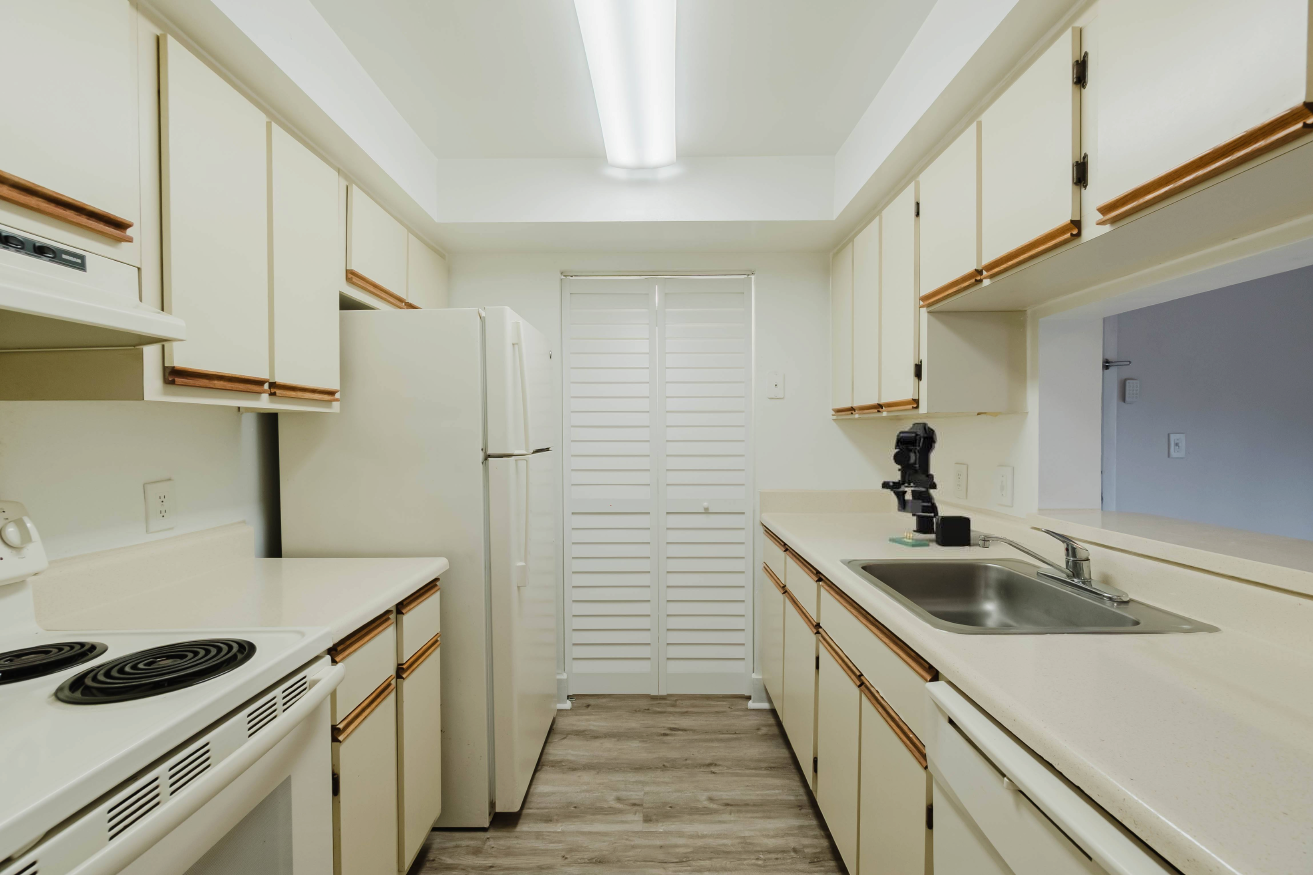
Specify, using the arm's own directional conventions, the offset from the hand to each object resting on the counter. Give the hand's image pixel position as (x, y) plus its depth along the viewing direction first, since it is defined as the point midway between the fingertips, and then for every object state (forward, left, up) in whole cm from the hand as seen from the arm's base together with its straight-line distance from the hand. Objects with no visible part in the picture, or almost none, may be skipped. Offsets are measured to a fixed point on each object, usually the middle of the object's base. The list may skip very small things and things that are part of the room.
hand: (909, 509), depth 192 cm
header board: (+2, -2, -12) cm, 12 cm away
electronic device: (+9, +10, -12) cm, 18 cm away
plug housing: (0, 0, -1) cm, 1 cm away
